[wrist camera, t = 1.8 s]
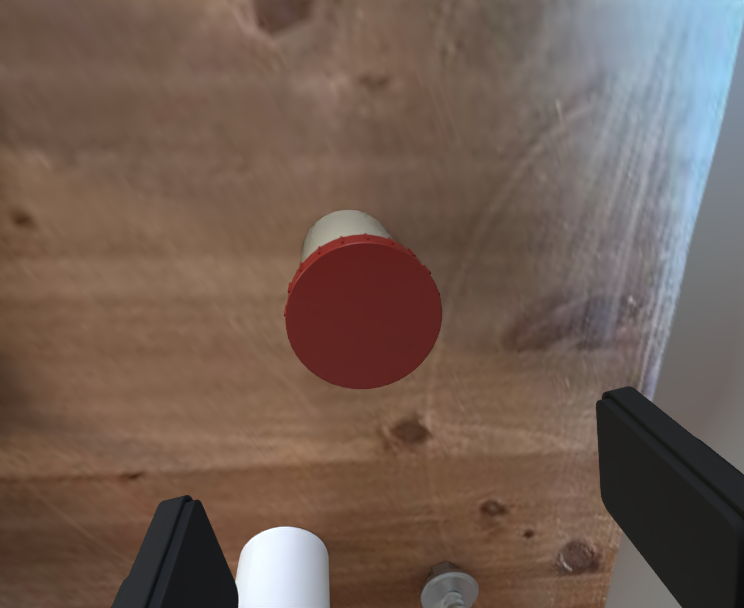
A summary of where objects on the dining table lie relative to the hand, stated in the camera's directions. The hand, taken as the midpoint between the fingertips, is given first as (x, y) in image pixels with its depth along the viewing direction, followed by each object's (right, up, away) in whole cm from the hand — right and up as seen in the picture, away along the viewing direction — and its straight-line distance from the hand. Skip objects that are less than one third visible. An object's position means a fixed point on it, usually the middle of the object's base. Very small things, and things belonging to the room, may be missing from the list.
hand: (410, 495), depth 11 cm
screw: (+5, -19, +31) cm, 37 cm away
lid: (-1, +4, +10) cm, 11 cm away
